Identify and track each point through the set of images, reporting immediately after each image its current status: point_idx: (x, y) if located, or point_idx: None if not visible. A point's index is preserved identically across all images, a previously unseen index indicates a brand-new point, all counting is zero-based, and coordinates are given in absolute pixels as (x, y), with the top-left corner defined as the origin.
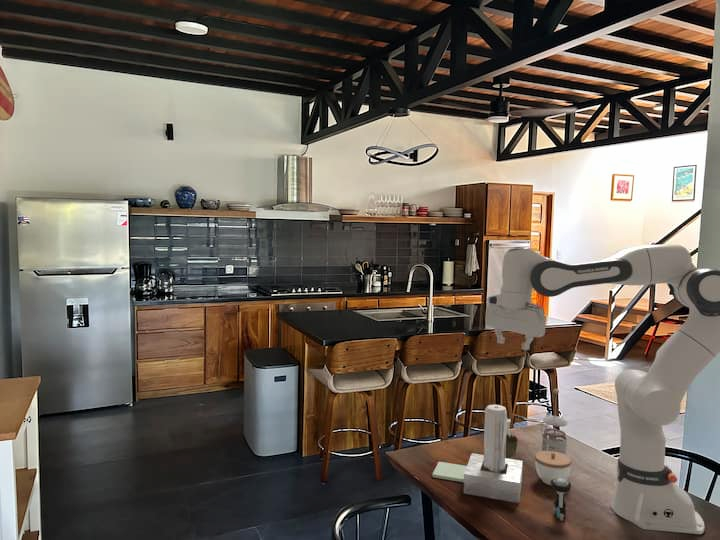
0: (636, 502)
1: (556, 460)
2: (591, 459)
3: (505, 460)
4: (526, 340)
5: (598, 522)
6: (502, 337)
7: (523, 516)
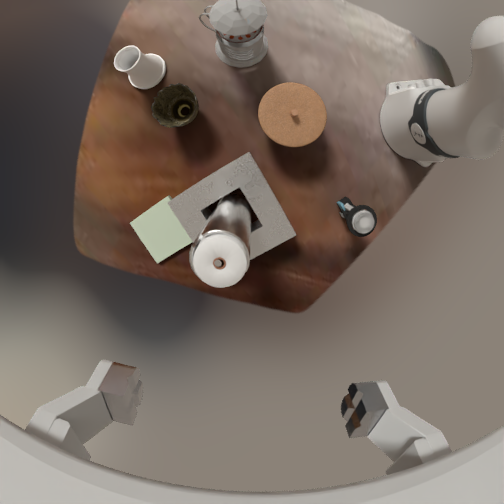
0: (431, 160)
1: (306, 123)
2: (284, 4)
3: (226, 177)
4: (392, 455)
5: (387, 189)
6: (110, 400)
7: (314, 251)
